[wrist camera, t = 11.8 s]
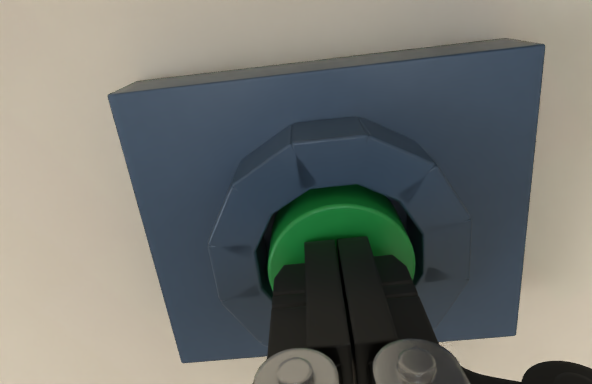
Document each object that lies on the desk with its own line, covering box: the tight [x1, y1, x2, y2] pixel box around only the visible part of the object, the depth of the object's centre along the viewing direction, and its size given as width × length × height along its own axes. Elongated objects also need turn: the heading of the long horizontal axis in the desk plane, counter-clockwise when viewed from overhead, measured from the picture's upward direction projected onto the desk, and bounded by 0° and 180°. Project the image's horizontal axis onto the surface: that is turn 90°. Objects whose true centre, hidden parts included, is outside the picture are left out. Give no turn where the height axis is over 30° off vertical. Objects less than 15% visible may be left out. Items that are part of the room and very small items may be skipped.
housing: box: [108, 38, 545, 363], centre depth 13 cm, size 11×9×4 cm
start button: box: [268, 184, 416, 290], centre depth 11 cm, size 4×4×2 cm
